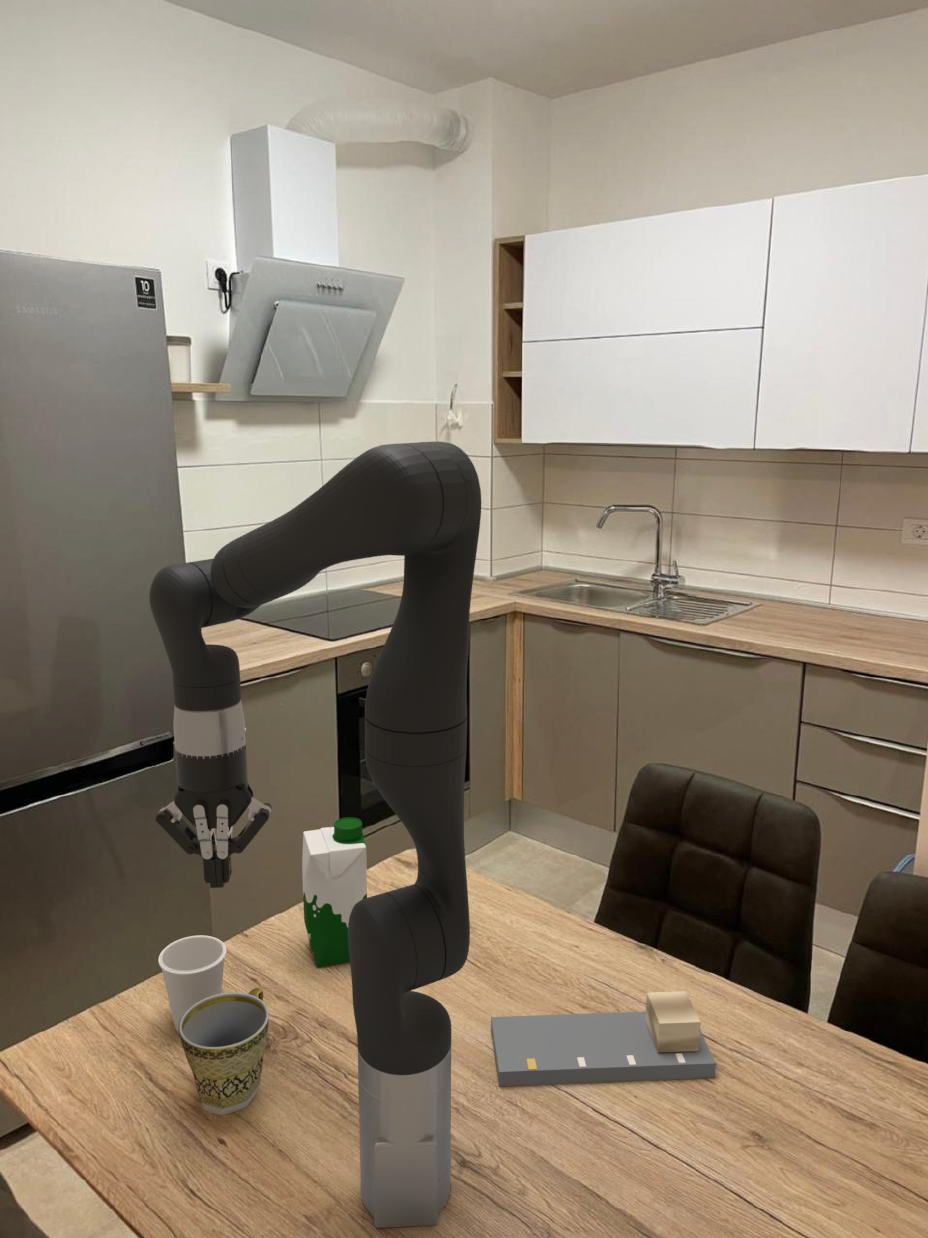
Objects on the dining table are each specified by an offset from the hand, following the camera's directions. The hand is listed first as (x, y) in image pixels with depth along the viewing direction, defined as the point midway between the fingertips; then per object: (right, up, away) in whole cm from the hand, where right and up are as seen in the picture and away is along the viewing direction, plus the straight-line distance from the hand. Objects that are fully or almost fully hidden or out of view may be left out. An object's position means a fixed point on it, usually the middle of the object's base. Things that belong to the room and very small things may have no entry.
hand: (218, 884), depth 105 cm
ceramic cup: (+1, -25, +4) cm, 25 cm away
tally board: (+45, -24, +10) cm, 51 cm away
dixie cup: (-7, -22, +15) cm, 28 cm away
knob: (+54, -22, +10) cm, 59 cm away
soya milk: (+9, -19, +31) cm, 37 cm away
